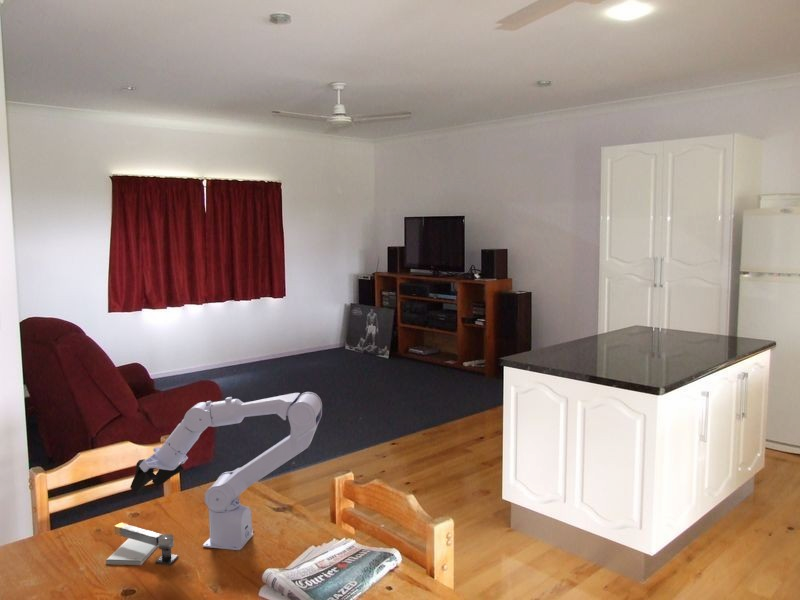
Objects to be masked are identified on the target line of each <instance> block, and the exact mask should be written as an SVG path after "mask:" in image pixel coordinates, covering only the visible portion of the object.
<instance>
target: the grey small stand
mask: <svg viewBox="0 0 800 600" xmlns="http://www.w3.org/2000/svg"><path fill="white" fill-rule="evenodd" d="M177 559H179V554H172V548H170V549H166V550H161V556H159V557H158V559H156V560H155V561H154V564H155V565H158V566H159V565H160V566H171V565H173V564H174V562H175V561H176V560H177Z"/></svg>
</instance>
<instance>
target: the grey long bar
mask: <svg viewBox="0 0 800 600" xmlns="http://www.w3.org/2000/svg"><path fill="white" fill-rule="evenodd" d="M113 527H114V529H113V531H114V535H115V536H119V537H124V538H127V539H128V538H130V539H134V540H137V541H141V542H144V543H148V544H151V545H155V546H158V545H159V546H158V549H159V550H161V551H162V550H166V549H170V548H171V549H172V548H173V547H174V545H175V544H174V543H175V542H174V535H172V534H162V533H158V532H155V531H153V530H148V529H145V528H140V527H138V526H135V525H130V524H128V523H125V522H119V523H118V524H117V523H116V525H114V526H113Z"/></svg>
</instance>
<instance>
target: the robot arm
mask: <svg viewBox="0 0 800 600" xmlns="http://www.w3.org/2000/svg"><path fill="white" fill-rule="evenodd" d="M267 415H277V416H278V417H280V418H281V419H282V420H283V421H286V420H287V419H288V423H289V426H290V433H289V434H288V436H286V437H284V438H283V439H282V440H280V441H279V442H277V443H276V444H274V445H273V446H271V447H270V448H268V449H267V450H265V451H264V452H262V453H261V454H259V455H258V456H256V457H255V458H253V459H252V460H250V461H249V462H247V463H246V464H244V465H243V466H241V467H237V468H236V469H234V470H232V471H225V472H222V473H221V474H220V475H219V476H218V477H217V479H216V481H214V483H213V484H212V485H211V486H210V487H209V488H208V489H207V490H206V491H205V494H204V503H205V505H206V507H208V520H209V521H208V523H209V538H208V539H207V540H206V541H205V542H204V543H203V544H202V547H203V548H211V549H213V548H214V549H221V550H232V551H233V550H234V551H241V550H242V549H243V547H244V546H245V545H246V544H247V543H248V542H249V540H250V539H251V538H252V537H253V536H254V532H253V524H252V509H251V507H249V506H246V505H243V504H241V501H240V498H239V497H240V495H241V494H242V493H243V492H244V491H246V490H247V489H248V488H249V487H251V486H253V485H254V484H255V483H257V482H259V480H261V479H263V478H264V477H266V476H268V475H269V474H271V473H272V472H273V471H275V470H277V469H278V468H279V467H281V466H282V465H284V464H285V463H287V462H288V461H290V460H291V459H293V458H295V457H296V456H297V455H299V454H301V453H302V452H303V451H305V450H306V449H308V448H309V447H310V445H311V443H312V440H314V439H313V438H314V435H315V433H316V431H317V429H318V425H319V423H320V421H321V418H322V415H323V403H322V399H321V398H320V396H319V395H318V394H317V393H315V392H312V391H306V392H303V393H300V392H293V393H287V394H283V395H278V396H272V397H267V398H262V399H257V400H253V401H246V402H243V401H242V400H241V399H239V398H233V397H232V396H228V397H226V398H224V400H219V401H212V400H207V401H206V402H205V401H202V402H201V401H200V402H197V403H196V404H194V405H193V406H192V407H191V408H190V409H188V410H187V411H186V413H185V414H184V416H183V419H181V422H179V423H178V424H177V425H176V427H175V428H174V430H172V432H171V434H169V436H168V437H167V438H166V440H165V441H164V442H163V444H162V445H161V446H156V447H154V448H153V452H154V453H153V454H151V455H150V456H149V457H148V458H146V459H145V458H144V459H139V460H138V461H137V462H136V464H135V465H136V466H135V474H134V476H133V479H132V481H131V484H130V486H129V488H130V489H131V491H132V492H133V493H134V494H138V493H139V492H140V491H141V490H142V489H143V488H144V487H145V486H146V485H147V484H149V483H150V482H151V483H153V485H154V486H155V487H156V488H160V487H161V486H162V485H163V484H165V483H166V482H167V481H169V480H170V479H171V478H173V477H174V476H175V475H177V474H180V473H182V472H184V467H183V465H182V464H185V462H186V461H187V460H188V459H189V456H188V455H187V453H188V452H189V451H190V449H191V448H192V447H193V446H194V445H195V443H196V442H197V441H198V440H199V438H200V436H201V434H203V432H204V431H206V429H208V427H213V428H215V427H221V426H229V425H234V424H235V425H236V424H240V423H242V422H243V420H244V418H246V417H248V418H249V417H256V416H267ZM155 469H157V472H156V473H154V472H155Z"/></svg>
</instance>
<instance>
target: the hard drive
mask: <svg viewBox="0 0 800 600" xmlns="http://www.w3.org/2000/svg"><path fill="white" fill-rule="evenodd" d="M158 548H159V545H158V546H155V545H151V544H148V543H144V542H141V541H137V540H134V539H130V538H127V539H126V540H125V541H124V542H123V543H122V544H121V545H120V546H119V547H118V548H116V550H114V552H113V553H112V554H111V555H109V557H108V558H106V560H105V564H107V565H124V566H125V565H127V566H128V565H129V566H142V565H143V564H144V563H145V562H146V561H147V559H148V558H149V557H150V556H151V555H152V554H153V552H155V551H156V550H157V549H158Z"/></svg>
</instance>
